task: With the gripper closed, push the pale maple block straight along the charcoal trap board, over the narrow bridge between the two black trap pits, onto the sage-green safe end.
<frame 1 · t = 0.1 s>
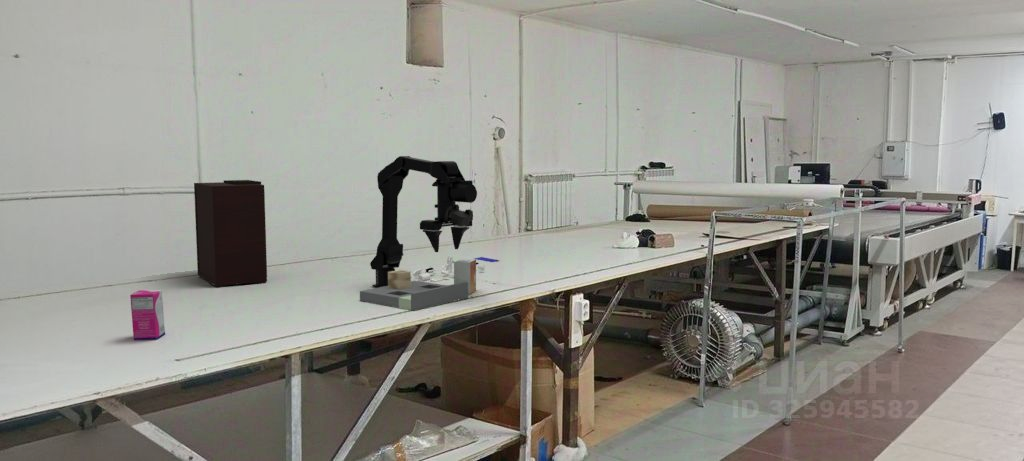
hand: (446, 250, 242), 15 cm above the table, fingers open, 9 cm apart
miniature set: (449, 277, 284), on the table
supplement box: (149, 338, 190), on the table
maple block: (399, 287, 243), point 3 cm above the table, touching trap board
booklet: (467, 263, 318), on the table
tall dark brown box: (234, 280, 274), on the table
small box: (465, 292, 251), on the table
trap board: (413, 299, 239), on the table
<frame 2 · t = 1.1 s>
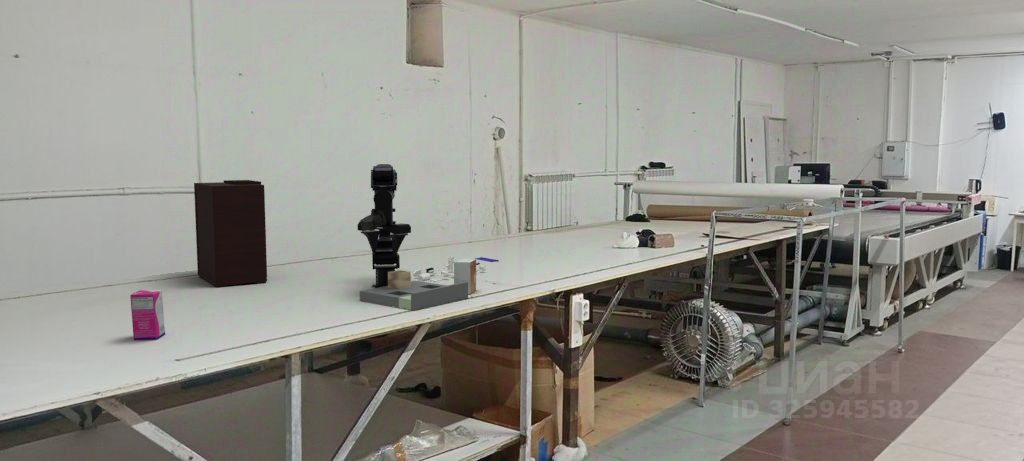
hand: (384, 254, 246), 13 cm above the table, fingers open, 9 cm apart
nothing on the table moved.
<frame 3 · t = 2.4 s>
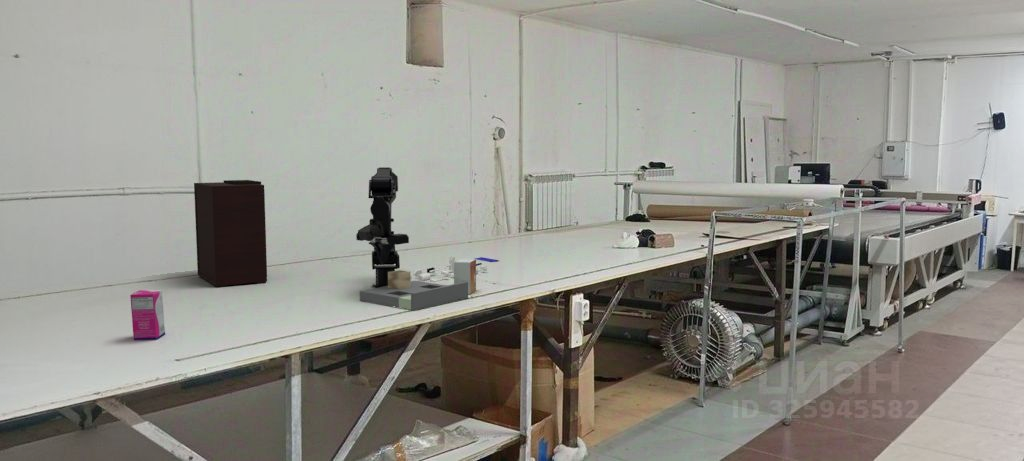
hand: (382, 264, 247), 10 cm above the table, fingers closed
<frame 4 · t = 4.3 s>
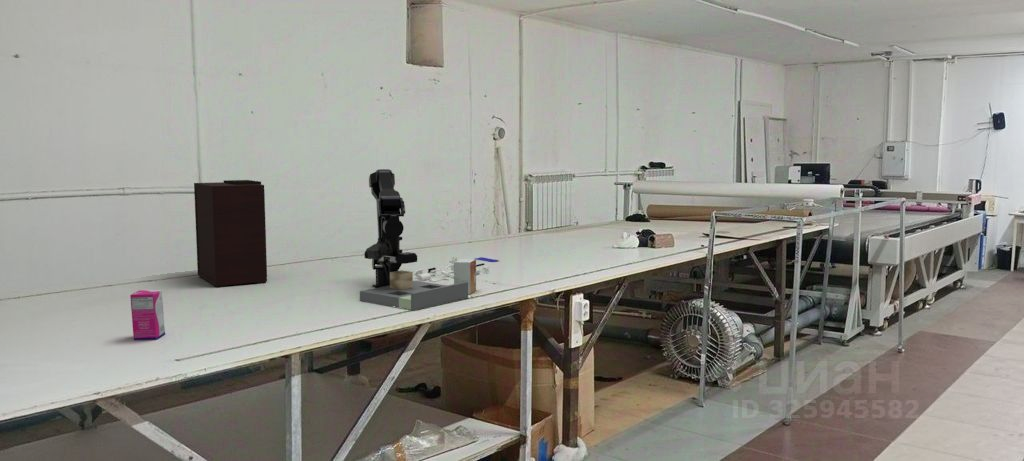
hand: (390, 282, 245), 4 cm above the table, fingers closed
maple block: (401, 287, 242), point 3 cm above the table, touching gripper
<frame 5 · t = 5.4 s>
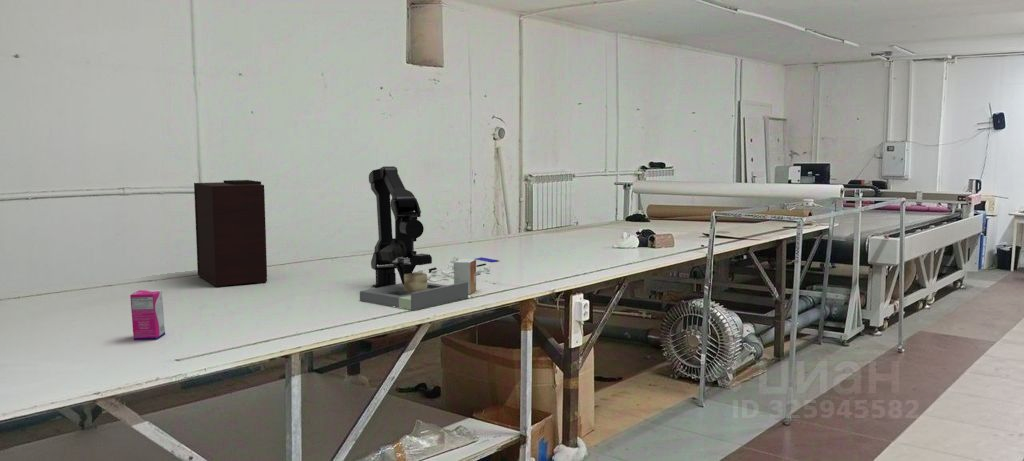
hand: (404, 284, 241), 4 cm above the table, fingers closed
maple block: (415, 289, 238), point 3 cm above the table, touching gripper, trap board
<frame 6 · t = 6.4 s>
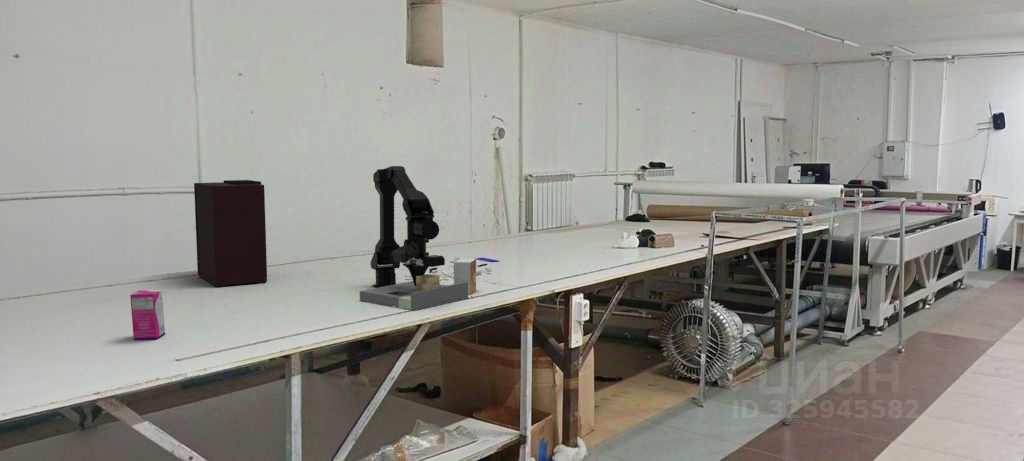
hand: (416, 286, 238), 4 cm above the table, fingers closed
maple block: (428, 291, 235), point 3 cm above the table, touching gripper
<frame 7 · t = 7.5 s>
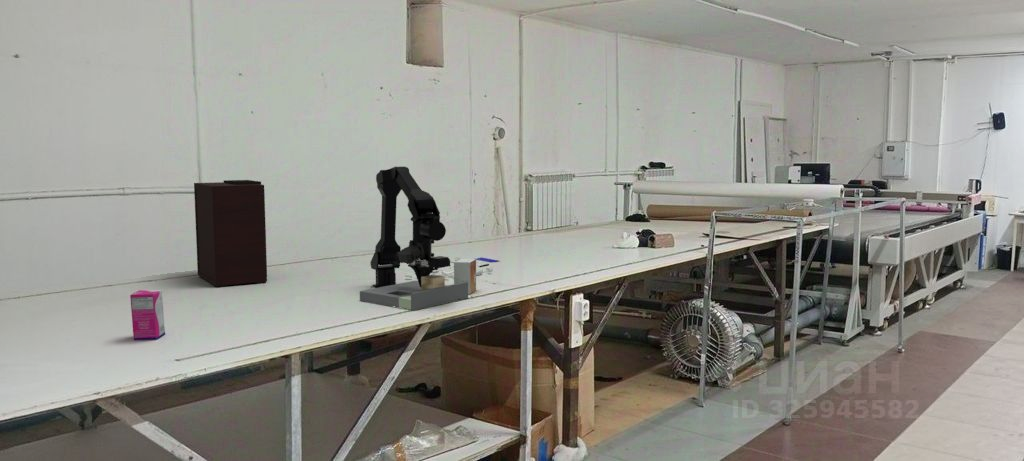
hand: (421, 287, 236), 4 cm above the table, fingers closed
maple block: (433, 292, 234), point 3 cm above the table, touching gripper, trap board
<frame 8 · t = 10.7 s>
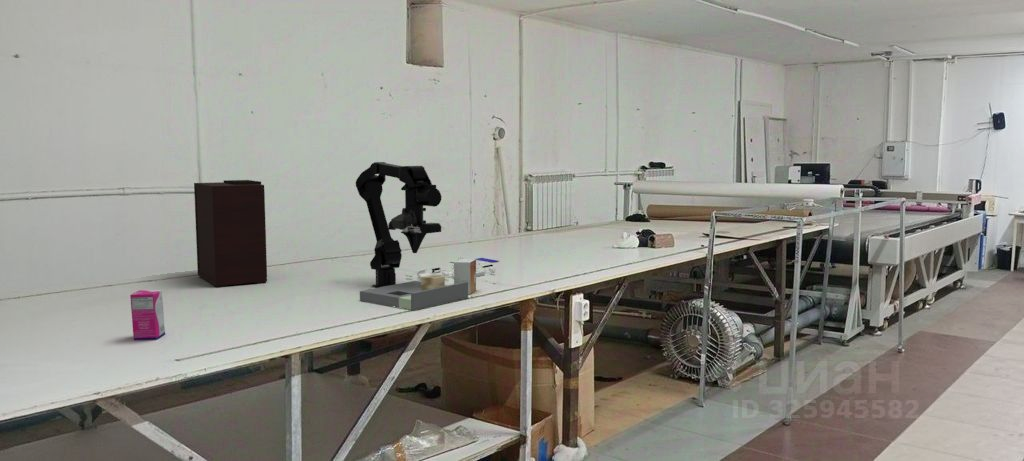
hand: (414, 253, 248), 13 cm above the table, fingers closed
maple block: (433, 292, 234), point 3 cm above the table, touching trap board
at the end: maple block inside the target area on the trap board (0.7 cm from its centre), point 3.0 cm above the trap board's base; maple block tilted 0° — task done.
